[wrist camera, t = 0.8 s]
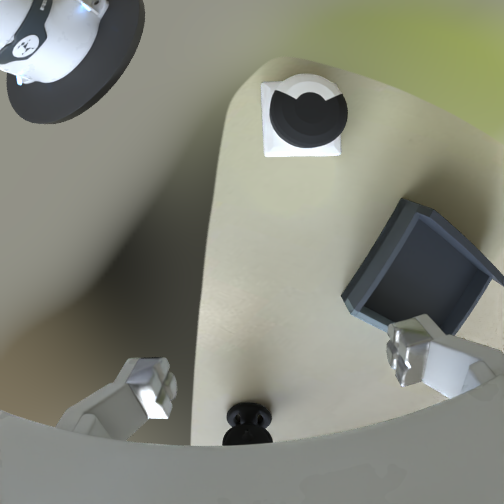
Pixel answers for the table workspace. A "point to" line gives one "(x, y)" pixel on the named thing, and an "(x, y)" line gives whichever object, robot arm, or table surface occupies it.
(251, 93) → the table surface
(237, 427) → the webcam
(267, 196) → the table surface
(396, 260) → the drawer
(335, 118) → the medicine bottle
